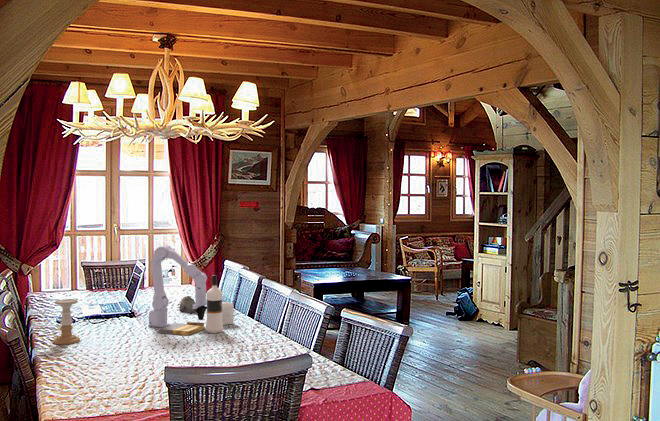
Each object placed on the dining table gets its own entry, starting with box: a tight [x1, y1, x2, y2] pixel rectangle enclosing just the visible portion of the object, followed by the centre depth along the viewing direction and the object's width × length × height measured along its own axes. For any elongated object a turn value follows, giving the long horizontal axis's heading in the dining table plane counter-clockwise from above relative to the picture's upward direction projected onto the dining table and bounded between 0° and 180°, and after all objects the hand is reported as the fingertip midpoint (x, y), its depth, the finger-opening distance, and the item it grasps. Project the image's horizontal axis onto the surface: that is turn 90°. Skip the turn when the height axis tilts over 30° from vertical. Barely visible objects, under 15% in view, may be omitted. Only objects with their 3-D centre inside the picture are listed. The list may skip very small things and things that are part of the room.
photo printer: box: [222, 301, 235, 326], centre depth 349 cm, size 10×4×12 cm, turn 123°
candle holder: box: [52, 298, 81, 346], centre depth 307 cm, size 12×12×20 cm
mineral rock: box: [178, 295, 196, 313], centre depth 384 cm, size 13×11×10 cm
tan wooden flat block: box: [172, 321, 205, 336], centre depth 331 cm, size 9×16×3 cm, turn 163°
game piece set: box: [224, 344, 268, 360], centre depth 287 cm, size 19×20×4 cm
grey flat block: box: [158, 322, 187, 335], centre depth 334 cm, size 8×16×2 cm, turn 163°
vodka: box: [205, 274, 224, 334], centre depth 331 cm, size 9×9×30 cm
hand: (200, 319), depth 344 cm, fingers closed
